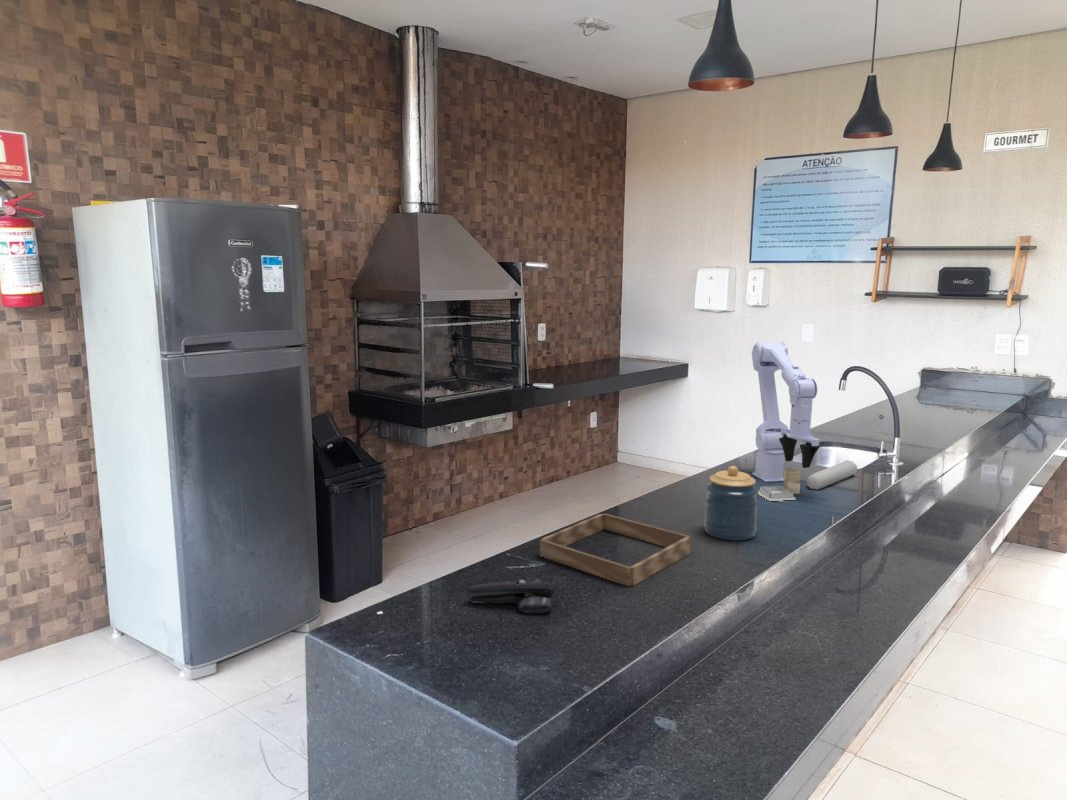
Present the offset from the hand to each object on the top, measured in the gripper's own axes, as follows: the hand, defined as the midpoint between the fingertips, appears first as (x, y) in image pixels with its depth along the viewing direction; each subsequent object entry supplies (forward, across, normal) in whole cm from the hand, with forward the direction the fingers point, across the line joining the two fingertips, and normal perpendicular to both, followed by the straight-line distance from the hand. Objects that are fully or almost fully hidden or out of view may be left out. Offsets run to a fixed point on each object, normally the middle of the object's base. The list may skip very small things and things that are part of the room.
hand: (797, 464), depth 220 cm
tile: (+9, 0, -7) cm, 12 cm away
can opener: (+9, +42, -104) cm, 112 cm away
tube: (+10, -7, +19) cm, 23 cm away
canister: (+9, +21, -38) cm, 44 cm away
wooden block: (+9, -2, 0) cm, 10 cm away
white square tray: (+9, 0, -7) cm, 12 cm away
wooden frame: (+9, +25, -72) cm, 77 cm away
